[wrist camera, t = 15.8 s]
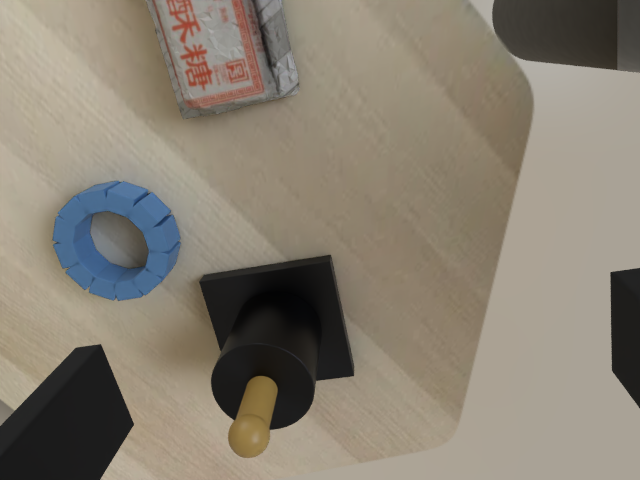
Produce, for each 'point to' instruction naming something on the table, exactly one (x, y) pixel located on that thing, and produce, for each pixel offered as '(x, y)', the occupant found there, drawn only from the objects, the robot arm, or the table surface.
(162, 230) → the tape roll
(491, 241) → the table surface
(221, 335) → the tape holder
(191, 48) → the packaged product
